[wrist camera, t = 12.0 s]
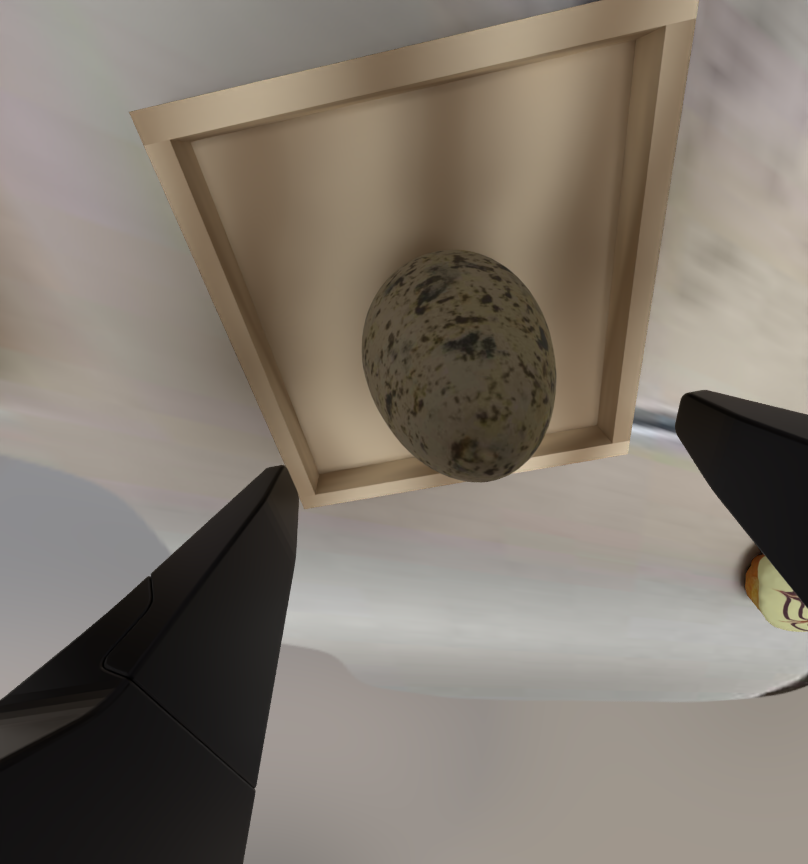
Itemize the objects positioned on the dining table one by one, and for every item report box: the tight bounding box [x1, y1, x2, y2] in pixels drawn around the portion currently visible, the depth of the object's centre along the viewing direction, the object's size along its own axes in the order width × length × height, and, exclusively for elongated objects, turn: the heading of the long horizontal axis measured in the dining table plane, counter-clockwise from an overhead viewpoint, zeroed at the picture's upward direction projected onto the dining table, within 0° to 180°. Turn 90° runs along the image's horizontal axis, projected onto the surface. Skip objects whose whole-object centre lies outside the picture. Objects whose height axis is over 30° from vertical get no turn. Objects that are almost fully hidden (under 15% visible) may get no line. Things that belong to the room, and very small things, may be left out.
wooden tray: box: [129, 0, 699, 509], centre depth 17 cm, size 16×16×2 cm
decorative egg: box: [362, 250, 556, 482], centre depth 13 cm, size 6×6×10 cm
